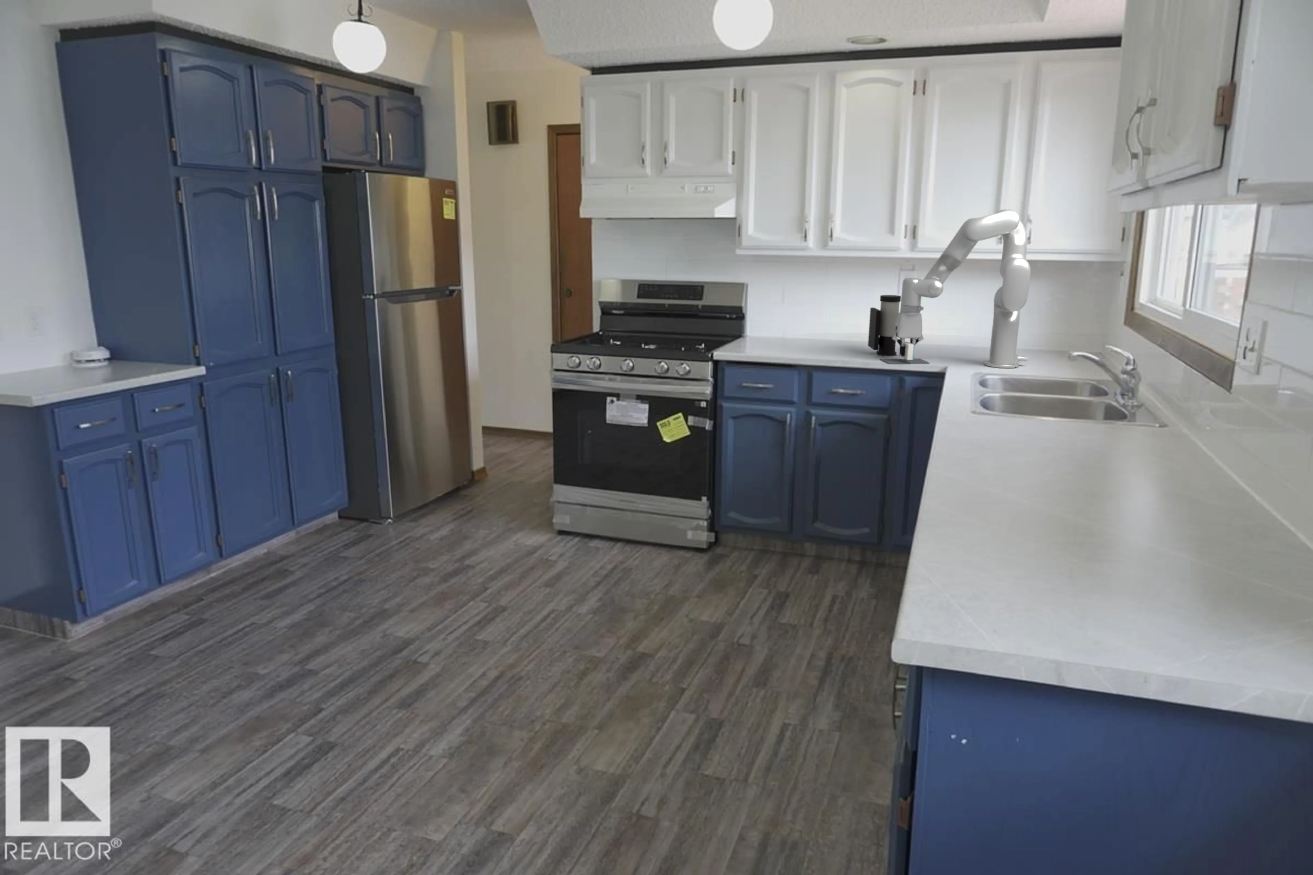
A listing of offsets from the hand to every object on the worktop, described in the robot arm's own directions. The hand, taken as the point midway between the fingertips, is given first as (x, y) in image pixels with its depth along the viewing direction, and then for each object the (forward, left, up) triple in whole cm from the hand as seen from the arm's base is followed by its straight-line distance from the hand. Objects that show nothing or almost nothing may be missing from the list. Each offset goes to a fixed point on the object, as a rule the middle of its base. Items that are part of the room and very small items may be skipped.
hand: (906, 355), depth 350 cm
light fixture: (+2, -21, -3) cm, 21 cm away
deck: (0, 0, -1) cm, 1 cm away
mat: (0, -2, -3) cm, 4 cm away
